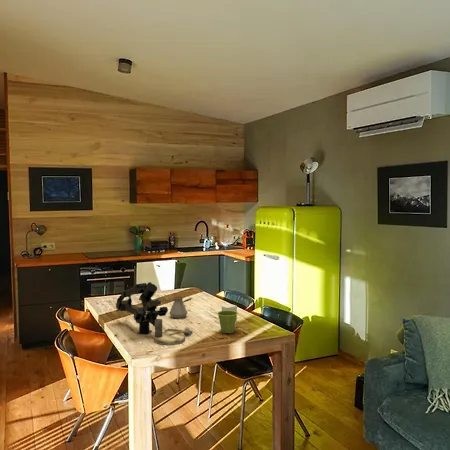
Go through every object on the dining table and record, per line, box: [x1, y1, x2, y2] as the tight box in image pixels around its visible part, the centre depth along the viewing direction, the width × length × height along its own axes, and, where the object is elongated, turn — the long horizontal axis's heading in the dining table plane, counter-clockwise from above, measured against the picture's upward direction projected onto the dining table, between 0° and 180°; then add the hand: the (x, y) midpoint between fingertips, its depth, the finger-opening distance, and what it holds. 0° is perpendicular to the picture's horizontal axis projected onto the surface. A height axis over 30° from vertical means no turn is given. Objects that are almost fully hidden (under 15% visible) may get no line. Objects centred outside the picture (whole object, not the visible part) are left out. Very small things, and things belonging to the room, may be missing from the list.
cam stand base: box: [153, 328, 193, 346], centre depth 255 cm, size 23×17×2 cm
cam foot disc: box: [154, 318, 191, 343], centre depth 254 cm, size 21×16×10 cm
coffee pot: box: [169, 296, 193, 319], centre depth 296 cm, size 21×12×15 cm, turn 38°
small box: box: [221, 303, 238, 323], centre depth 287 cm, size 8×6×10 cm
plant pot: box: [216, 310, 239, 334], centre depth 267 cm, size 12×12×11 cm
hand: (155, 326), depth 253 cm, fingers closed
